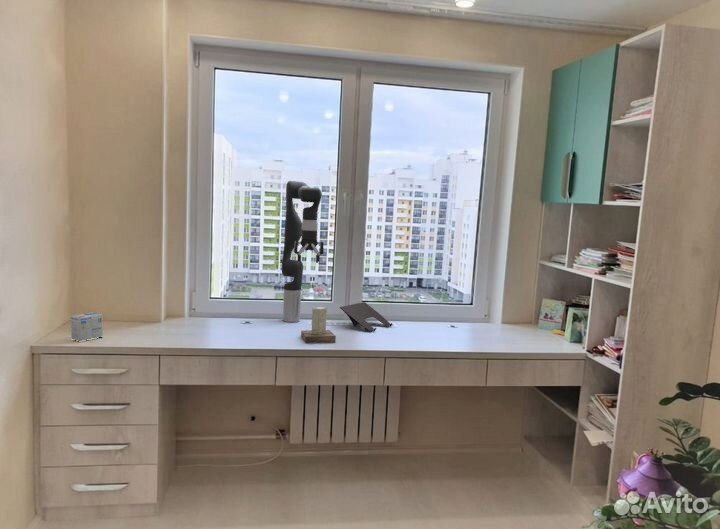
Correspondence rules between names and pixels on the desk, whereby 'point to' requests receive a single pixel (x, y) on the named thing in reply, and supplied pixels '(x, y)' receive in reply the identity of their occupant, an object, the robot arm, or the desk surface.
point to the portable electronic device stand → (363, 315)
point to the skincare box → (319, 320)
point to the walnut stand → (318, 337)
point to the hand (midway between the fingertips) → (308, 262)
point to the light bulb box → (86, 326)
